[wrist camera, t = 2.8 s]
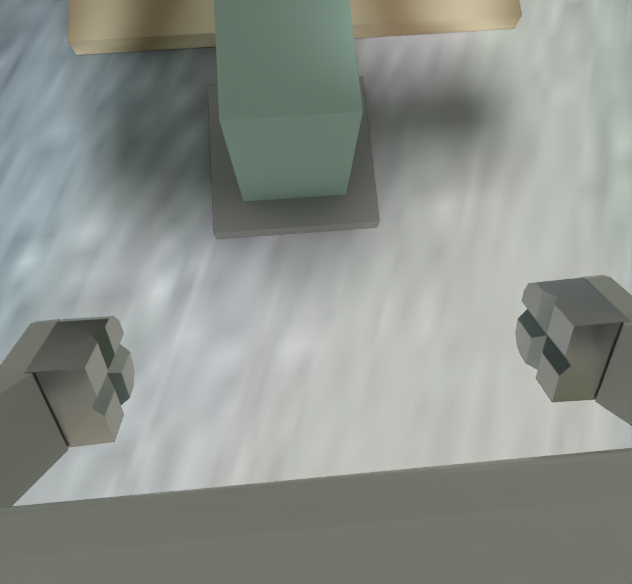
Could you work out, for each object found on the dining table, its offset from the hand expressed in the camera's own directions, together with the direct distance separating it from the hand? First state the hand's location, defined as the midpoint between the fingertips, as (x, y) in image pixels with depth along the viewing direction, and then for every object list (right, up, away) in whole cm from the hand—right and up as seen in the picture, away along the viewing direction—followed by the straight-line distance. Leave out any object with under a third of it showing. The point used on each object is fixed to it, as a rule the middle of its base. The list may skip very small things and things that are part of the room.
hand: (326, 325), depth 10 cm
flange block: (-1, +7, +15) cm, 17 cm away
